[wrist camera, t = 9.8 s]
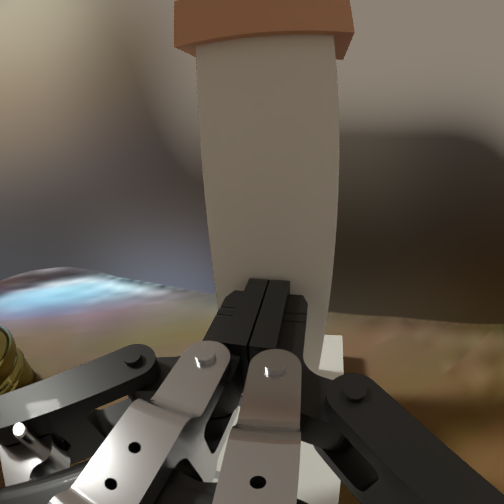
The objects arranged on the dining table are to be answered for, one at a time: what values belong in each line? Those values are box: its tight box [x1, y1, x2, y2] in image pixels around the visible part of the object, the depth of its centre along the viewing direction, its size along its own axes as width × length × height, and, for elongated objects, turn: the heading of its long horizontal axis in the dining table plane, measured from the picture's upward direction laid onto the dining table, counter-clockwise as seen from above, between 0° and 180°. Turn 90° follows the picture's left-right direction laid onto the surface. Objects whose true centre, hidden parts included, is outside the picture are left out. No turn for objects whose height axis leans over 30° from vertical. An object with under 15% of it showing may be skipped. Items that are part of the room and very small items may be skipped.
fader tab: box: [174, 0, 354, 395], centre depth 11 cm, size 6×4×18 cm, turn 78°
